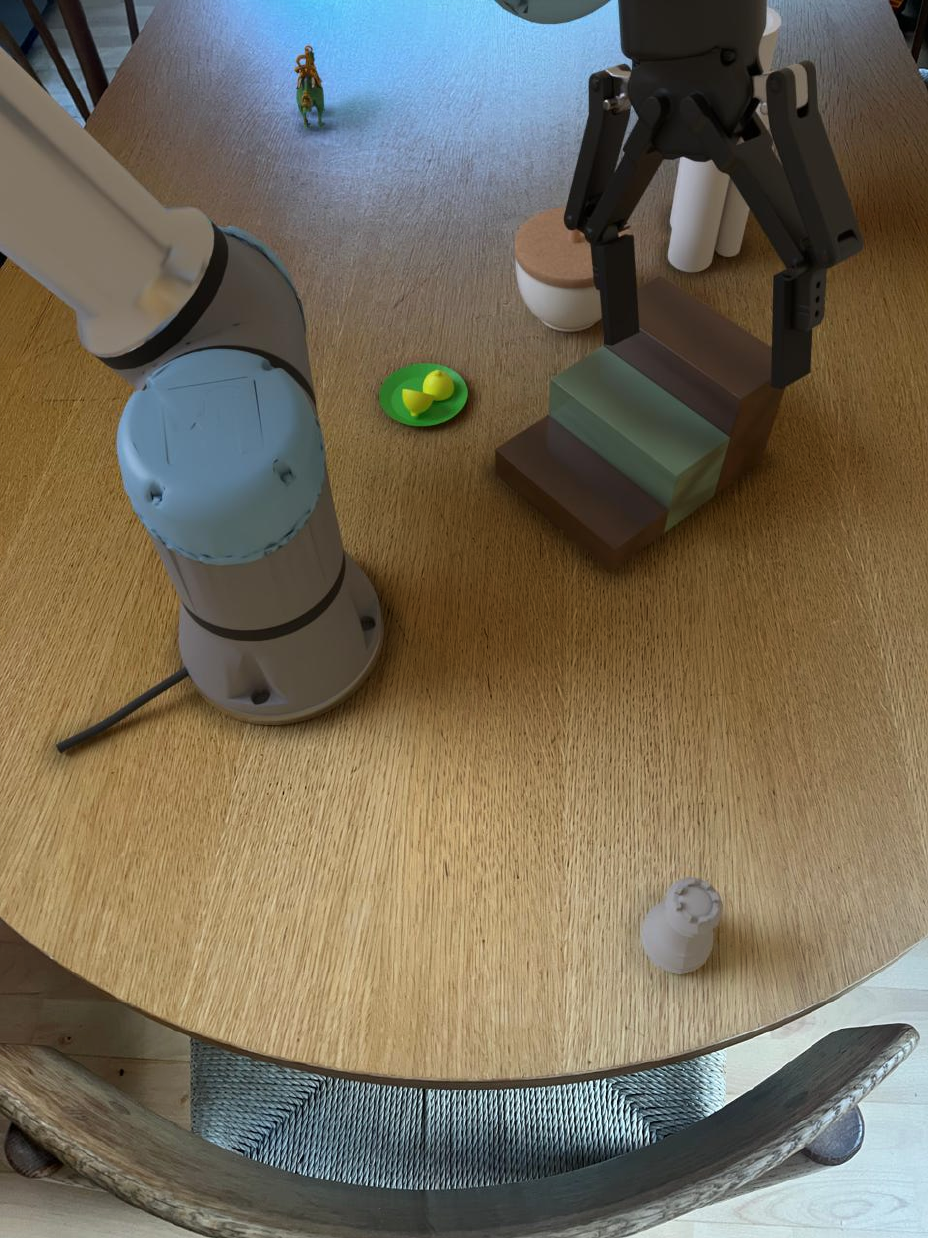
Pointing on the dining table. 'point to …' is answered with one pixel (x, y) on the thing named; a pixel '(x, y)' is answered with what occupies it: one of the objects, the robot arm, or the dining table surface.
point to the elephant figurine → (309, 87)
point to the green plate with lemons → (423, 394)
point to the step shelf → (646, 427)
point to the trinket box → (557, 272)
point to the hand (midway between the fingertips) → (700, 358)
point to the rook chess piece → (682, 926)
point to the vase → (713, 195)
